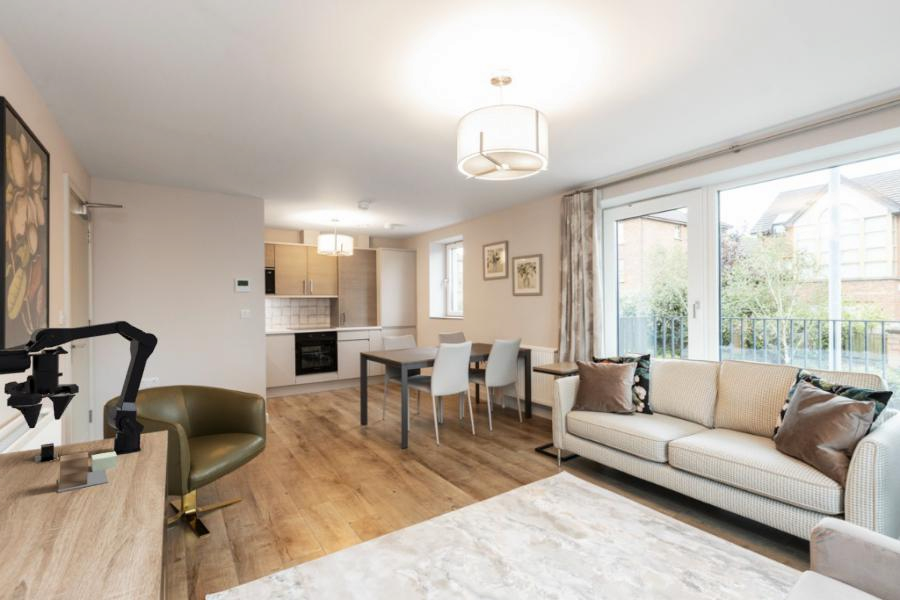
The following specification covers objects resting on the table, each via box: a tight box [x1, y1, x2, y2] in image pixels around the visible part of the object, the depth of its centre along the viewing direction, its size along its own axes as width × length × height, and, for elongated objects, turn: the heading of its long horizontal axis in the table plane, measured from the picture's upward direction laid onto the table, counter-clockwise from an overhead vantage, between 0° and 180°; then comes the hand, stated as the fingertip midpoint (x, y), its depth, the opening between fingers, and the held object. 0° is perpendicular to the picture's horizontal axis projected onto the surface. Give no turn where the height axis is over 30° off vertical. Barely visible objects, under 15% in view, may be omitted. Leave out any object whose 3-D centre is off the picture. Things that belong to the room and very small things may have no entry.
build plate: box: [34, 442, 59, 464], centre depth 135 cm, size 12×7×5 cm, turn 45°
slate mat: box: [57, 469, 109, 494], centre depth 116 cm, size 10×12×1 cm
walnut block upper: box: [59, 451, 89, 477], centre depth 114 cm, size 6×6×4 cm
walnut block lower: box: [59, 470, 89, 490], centre depth 113 cm, size 6×6×4 cm
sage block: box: [90, 450, 118, 472], centre depth 127 cm, size 6×6×4 cm
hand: (45, 423), depth 125 cm, fingers open, 9 cm apart
